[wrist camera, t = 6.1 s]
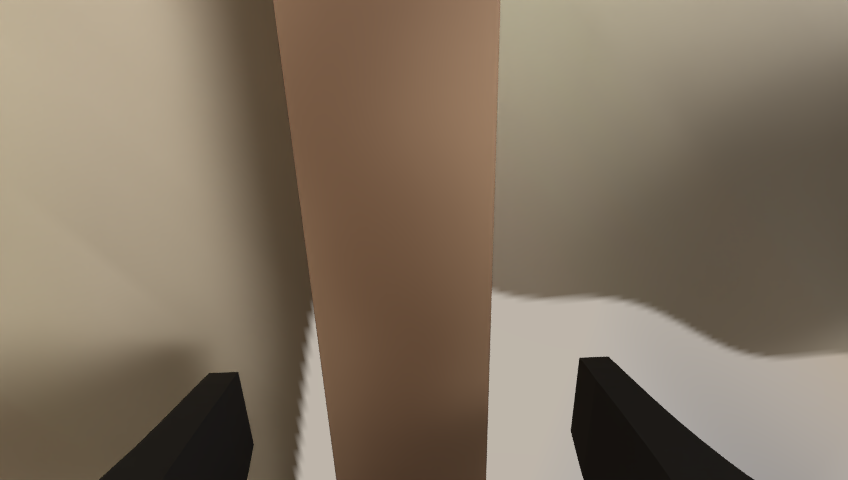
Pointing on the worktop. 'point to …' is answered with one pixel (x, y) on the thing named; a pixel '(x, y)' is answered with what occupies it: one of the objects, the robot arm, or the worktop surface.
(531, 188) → the worktop surface
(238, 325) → the worktop surface
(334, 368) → the slat
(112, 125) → the worktop surface
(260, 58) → the worktop surface
